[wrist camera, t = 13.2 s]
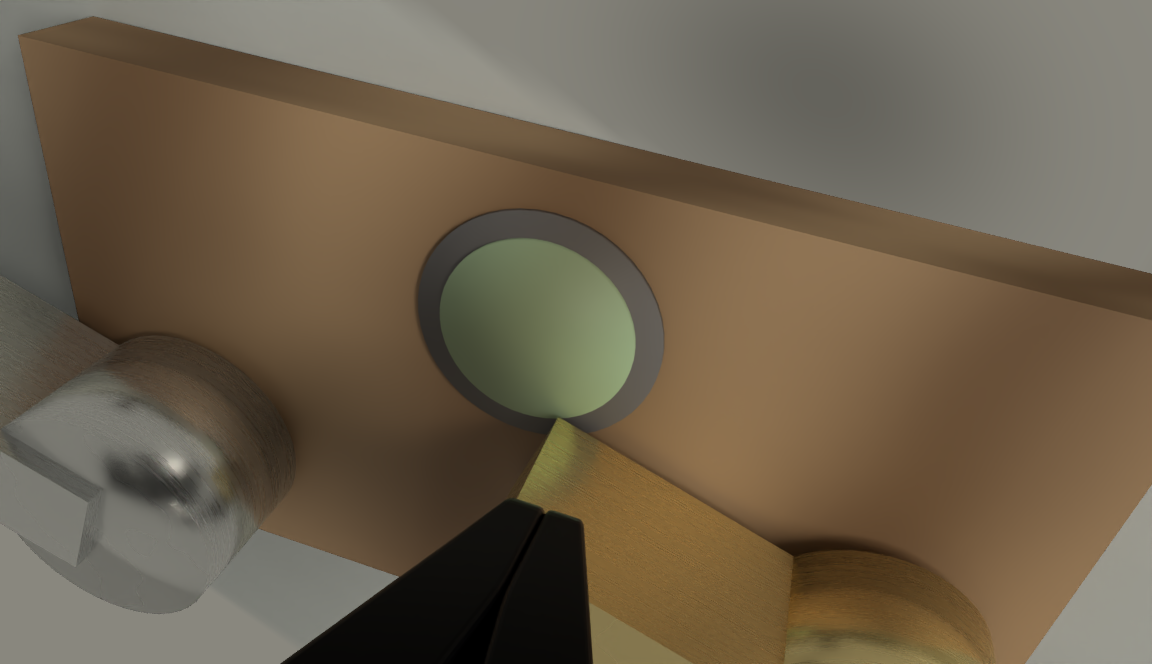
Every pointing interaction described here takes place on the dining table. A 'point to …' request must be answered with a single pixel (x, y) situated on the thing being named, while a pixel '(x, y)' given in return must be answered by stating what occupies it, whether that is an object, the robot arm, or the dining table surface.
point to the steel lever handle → (131, 456)
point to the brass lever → (733, 578)
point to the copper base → (594, 321)
